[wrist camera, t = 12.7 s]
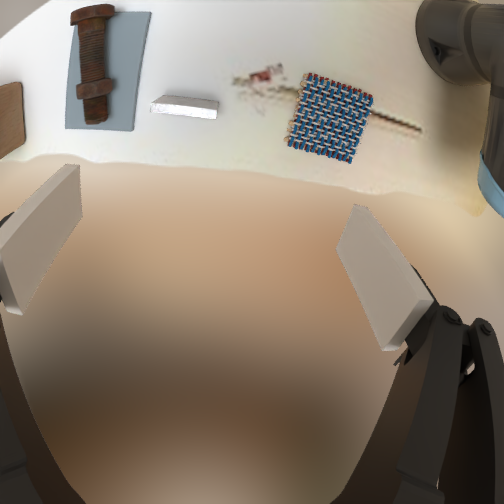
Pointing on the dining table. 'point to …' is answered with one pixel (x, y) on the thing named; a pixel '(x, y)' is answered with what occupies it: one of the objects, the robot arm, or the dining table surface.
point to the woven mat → (329, 118)
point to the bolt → (93, 61)
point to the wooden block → (11, 118)
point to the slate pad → (112, 72)
